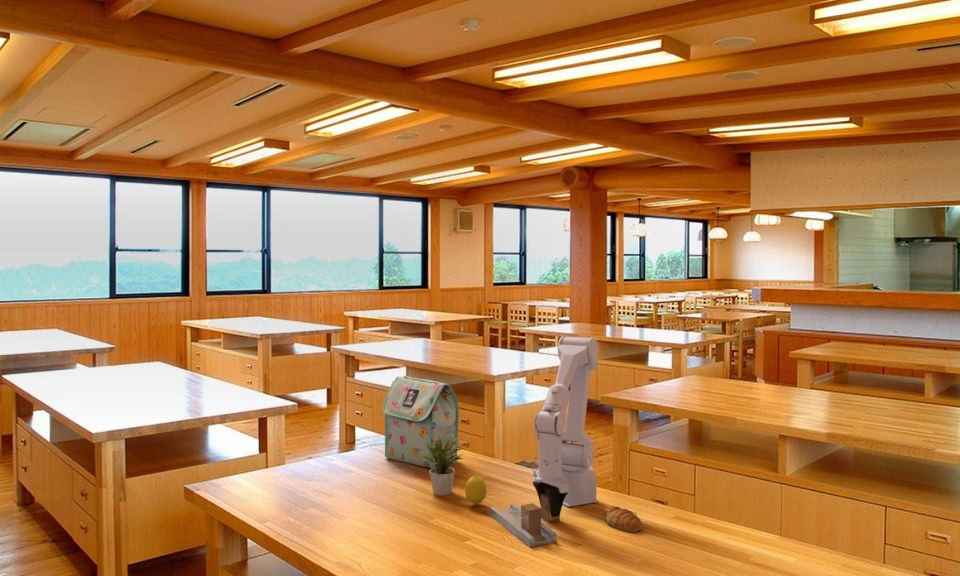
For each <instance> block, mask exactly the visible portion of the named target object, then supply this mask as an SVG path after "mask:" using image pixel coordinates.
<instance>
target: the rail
mask: <svg viewBox="0 0 960 576" xmlns="http://www.w3.org/2000/svg"><path fill="white" fill-rule="evenodd" d="M509 506H510V508H505V509H504V508H503V509H500V510H499V509H498V508H497V507H496V506H490V507H489V516H490V517H492V518H493V519H494V520H496V521H497V522H498V523H499V524H501V525H502V526H503V527H504V528H505V529H507V530H508V531H509V532H510V533H511V534H513V536H515V537H516V538H517V539H519V540H520V541H521V542H523V543H524V544H525V545H526V546H528V548H533V547H534V548H535V547H539V546H542V545H543V546H544V545H549V544H554V543H557V542H558V541H557V540H558V538H557V537H558V536H557V535H558V533H556V532H555V531H554V530H552V529H551V528H550V527H548V526H547V525H546V524H545V523H542V518H541V507H539V506H538V505H536V504H535V503H533V502H531V503H527V504H520V505H518V504H516V503H513V502H512V503H510V505H509Z"/></svg>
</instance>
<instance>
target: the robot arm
mask: <svg viewBox="0 0 960 576" xmlns="http://www.w3.org/2000/svg"><path fill="white" fill-rule="evenodd" d="M557 355H558V359H559V361H560V362H559V366H558V369H557V375H556V378H555V382H554V384H552V385H551V386H550V387H549V388H548V392H547V394H546V397H545V400H544V403H543V407H542V409H541V410H540V411H538V412H537V413H536V415H535V417H534V422H533V428H534V432H535V435H536V436H535V438H536V441H538V468H533V471H532V472H533V473H532V475H533V477H534V481H533V482H532V486H533V487H534V489H535V491H536V494H537V496H538V501H539V505H540V506H541V494H544V493H546V494H547V496H548V499H549V505H550V513H551V516H552V517H556V516H560V517H561V512H562V507H563V505H564V506H565V507H566V508H567V507H568V508H570V507H575V506H580V505H582V506H583V505H586V504H593V503H598V502H599V500H598V498H597V475H596V471H595V469H594V468H593V467H592V464H593V460H594V451H593V450H594V442H593V440H592V438H590V437H589V435H588V434H586V433H585V427H586V426H585V425H586V416H587V415H586V414H587V407H588V406H587V405H588V398H589V388H590V387H589V386H590V380H591V379H590V378H591V372H593V371H594V370H596V369H597V365H598V361H599V360H598V359H599V357H598V356H599V345H598V341H597V340H596V338H595V337H593V336H591V337H578V336H565V335H563V336H561V337H560V338H559V340H558V342H557ZM569 388H570V390H569ZM566 411H567V413H566Z"/></svg>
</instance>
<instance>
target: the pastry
mask: <svg viewBox="0 0 960 576" xmlns="http://www.w3.org/2000/svg"><path fill="white" fill-rule="evenodd" d="M606 512H607V513H606V515H605V521H606V523H607V525H609V526H611V527H612V528H614V527H615V528H614V529H618V530H620V529H621V531H623V530H625V531H624V532H627V531H628V532H631V533H635V532H637V531H641V530H642V528H643V523H642V521H641V518H640V517H638V516H637V514H634V513H633V511H632V510H629V509H628V508H621V506H613V507H611V508H610V509H609V510H607V511H606Z"/></svg>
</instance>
